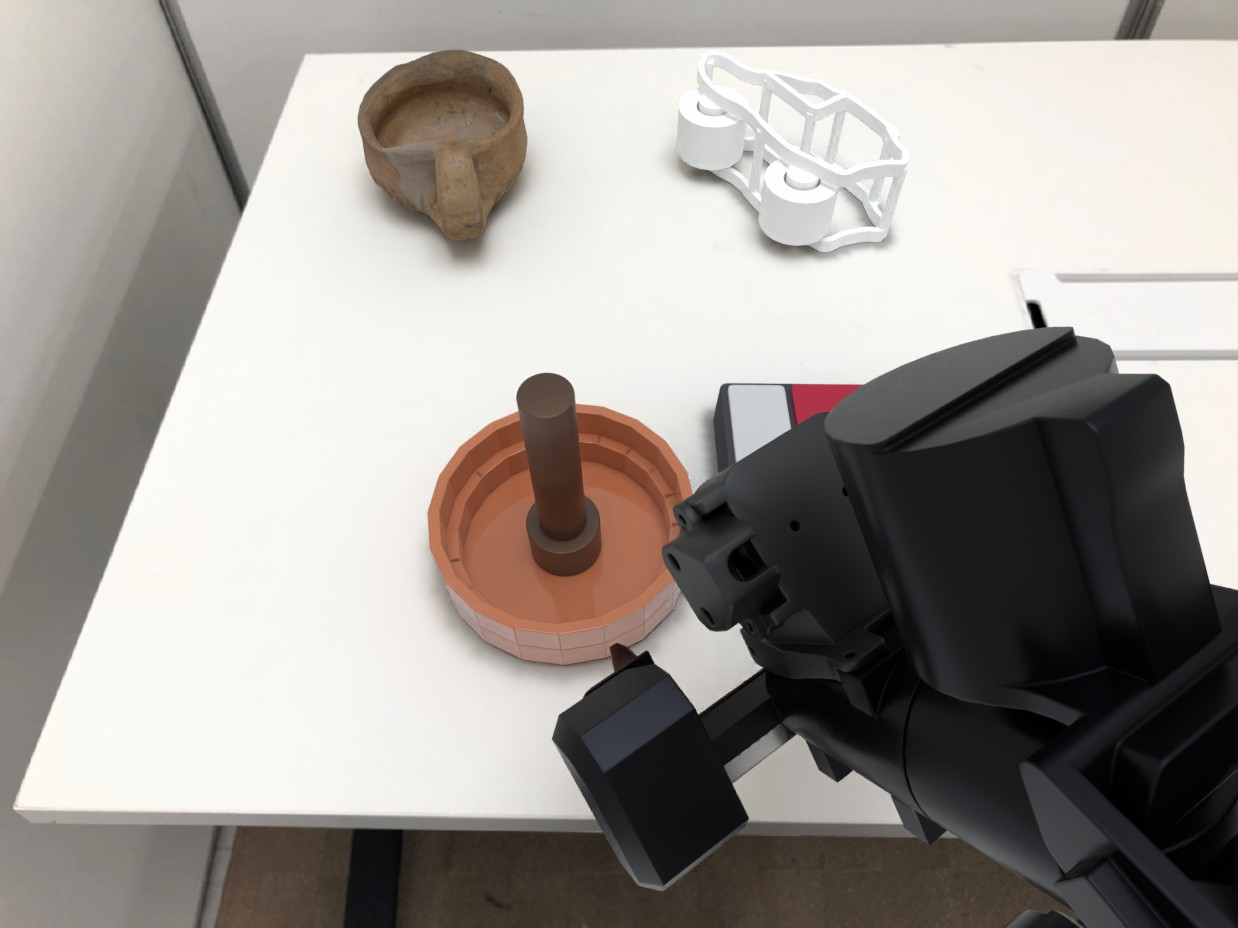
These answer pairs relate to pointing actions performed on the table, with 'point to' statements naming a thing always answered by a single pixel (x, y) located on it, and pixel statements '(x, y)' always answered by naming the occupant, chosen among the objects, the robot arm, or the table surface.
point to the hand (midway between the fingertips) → (704, 595)
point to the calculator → (766, 413)
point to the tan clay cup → (445, 137)
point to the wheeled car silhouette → (788, 153)
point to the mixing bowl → (501, 555)
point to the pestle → (556, 478)
